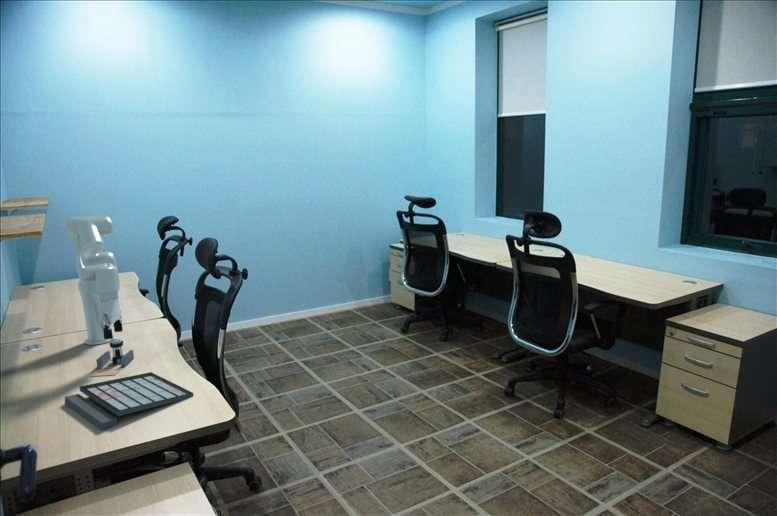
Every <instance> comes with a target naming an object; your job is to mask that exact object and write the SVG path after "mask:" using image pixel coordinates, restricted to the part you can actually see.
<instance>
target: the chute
mask: <svg viewBox="0 0 777 516" xmlns="http://www.w3.org/2000/svg"><path fill="white" fill-rule="evenodd" d="M123 355H124V356H123V357H122V358H121V363H120V364H121V368H122V369H123V368H126V367H127V366H128V365H129V364H130V363H131V362H132V361H133V360H134V359H135V355H134V349H130V350H129V351H127V352H126V353H125V354H123ZM110 360H112V357H111V350H108V351H107V350H106V352H104V353H103V354H102V355H101V356H99V357H98V358H97V359H96V360H95V361H96V368H97V369H96V370H99V369H102V368H103V367H104V366H105V365H107V364H108V363H110V362H111V361H110Z"/></svg>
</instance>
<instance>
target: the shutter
mask: <svg viewBox="0 0 777 516" xmlns="http://www.w3.org/2000/svg"><path fill="white" fill-rule="evenodd" d="M79 392H81V393H82V394H84V395H86V397H89V398H90V399H92V400H93V401H94V402H96V403H97V404H99V405H100V406H102V407H103V408H105V409H107V410H108V411H110V412H111V413H113V414H114V415H116V417H117V416H118V417H120V416H121V417H122V416H124V415H128V414H132V413H136V412H140V411H143V410H144V411H146V410H149V409H152V408H156V407H160V406H165V405H168V404H172V403H176V402H179V401H184V400H186V399H188V398H191V397H194V392H192V391H190V390H188V389H186V388H184V387H183V386H180V385H178V384H176V383H174V382H172V381H170V380H169V379H165V378H164V377H162V376H159V375H158V374H156V373H154V372H151V371H150V372H146V373H140V374H135V375H130V376H126V377H120V378H116V379H115V378H114V379H111V380H110V379H109V380H105V381H100V382H95V383H90V384H86V385H85V384H84V385H79ZM86 397H84V396H83V395H81V394H79V393H76V394H71V395H66V396H64V405H65V406H66V407H68V408H70V409H71V410H73V412H75V413H77V414H78V415H79V416H81V417H82V419H83V418H84V419H85V420H86V421H88V422H89V423H90V424H91V425H93V426H94V427H96V428H97V429H98V430H100V431H101V432H103V431H106V430H109V429H111V428H113V427H115V426H117V422H118V421H117V418H116V417H114V416H112V415H111V414H109V413H108V412H107V411H105V410H104V409H102V408H101V407H99V406H98V405H96V404H94V402H92V401H90V400H89V399H87V398H86Z"/></svg>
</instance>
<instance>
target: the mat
mask: <svg viewBox="0 0 777 516" xmlns="http://www.w3.org/2000/svg"><path fill="white" fill-rule="evenodd" d="M122 369H123V368H122V367H120V368H119V367H117V368H103V369H102V368H101V369H96V370H94V372H93V373H91V374H90V375H89V377H90V378H91V377H92V378H93V377H105V376H106V377H109V376H116V375H117V374H118V373H120V371H122Z"/></svg>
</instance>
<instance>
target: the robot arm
mask: <svg viewBox="0 0 777 516" xmlns="http://www.w3.org/2000/svg"><path fill="white" fill-rule="evenodd" d="M65 230H66V233H67V236H68V237H69V238H70V240H71V242H72V244H73V246H74V251H75V257H76V259H75V268H76V272H77V275H78V278H79V279H78V280H79V281H78V284H77V287H78V292H79V294H80V299H81V302H82V308H83V313H84V322H85V328H86V333H87V334H86V335H87V338H86V339H84V344H85V345H88V346H97V345H102V344H106V343H111V341H112V340H114V339H115V336H114V334H113V329H114V332H115V333H117V332H118V333H120V332H123V331H124V330H123V323H122V322H123V321H122V310H121V306H120V301H119V297H120V296H119V292H120V290H121V281H120V276H119V271H118V265H117V259H116V256H115V255H114V253H112V252H111V251H103V250H104V249H105V247H106V245H105V242H104V239H103V236H110V235H113V234H114V232H115V226H114V222H113V220H112V219H111V218H110V217H109V216H107V215H104V214H103V215H102V214H101V215H100V214H99V215H87V216H76V217H70V218H68V219H67V220H66V221H65ZM112 325H113V328H112Z"/></svg>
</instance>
